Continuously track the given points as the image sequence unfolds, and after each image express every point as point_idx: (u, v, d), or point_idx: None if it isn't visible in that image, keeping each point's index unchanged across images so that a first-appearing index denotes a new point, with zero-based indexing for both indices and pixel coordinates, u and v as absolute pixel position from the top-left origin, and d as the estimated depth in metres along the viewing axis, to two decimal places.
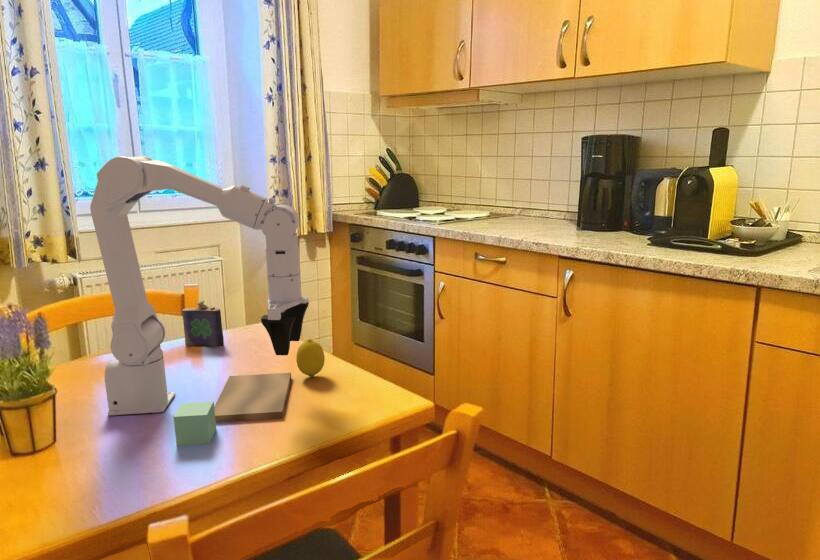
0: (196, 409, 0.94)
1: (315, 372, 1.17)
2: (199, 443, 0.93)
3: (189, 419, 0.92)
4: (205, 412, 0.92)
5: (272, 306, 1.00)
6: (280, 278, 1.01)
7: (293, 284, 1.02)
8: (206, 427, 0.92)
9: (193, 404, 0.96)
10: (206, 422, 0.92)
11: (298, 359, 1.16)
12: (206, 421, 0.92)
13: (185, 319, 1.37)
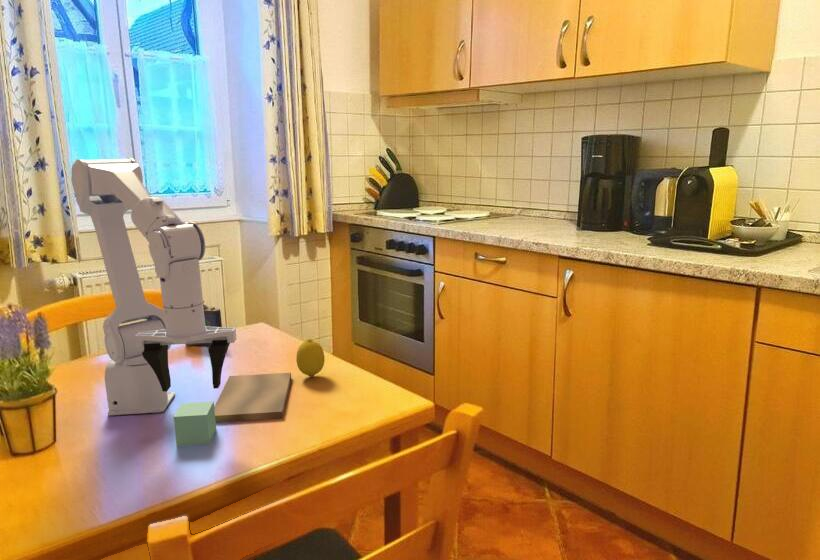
0: (196, 409, 0.94)
1: (315, 372, 1.17)
2: (199, 443, 0.93)
3: (189, 419, 0.92)
4: (205, 412, 0.92)
5: None
6: None
7: (167, 317, 0.88)
8: (206, 427, 0.92)
9: (193, 404, 0.96)
10: (206, 422, 0.92)
11: (298, 359, 1.16)
12: (206, 421, 0.92)
13: None
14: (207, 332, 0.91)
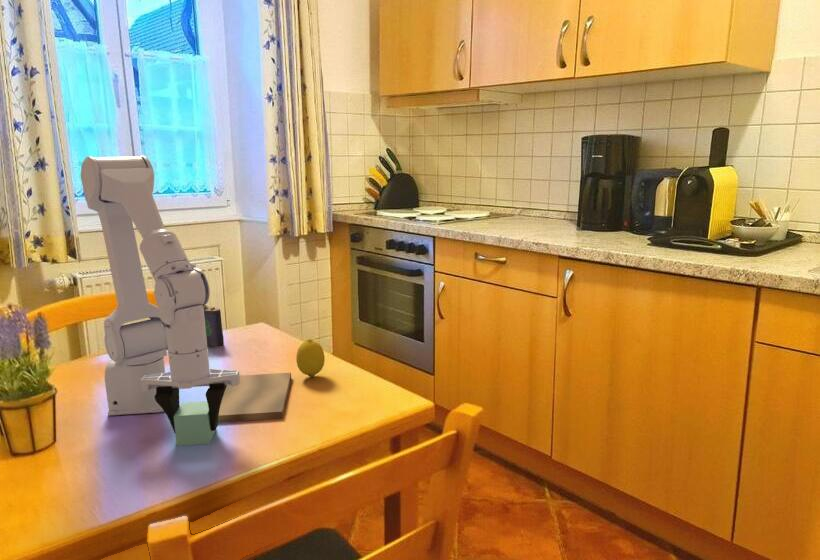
0: (196, 409, 0.94)
1: (315, 372, 1.17)
2: (199, 442, 0.93)
3: (189, 419, 0.92)
4: (205, 412, 0.92)
5: None
6: None
7: (172, 362, 0.90)
8: (206, 426, 0.92)
9: (193, 403, 0.96)
10: (206, 421, 0.92)
11: (298, 359, 1.16)
12: (206, 420, 0.92)
13: None
14: (211, 375, 0.93)
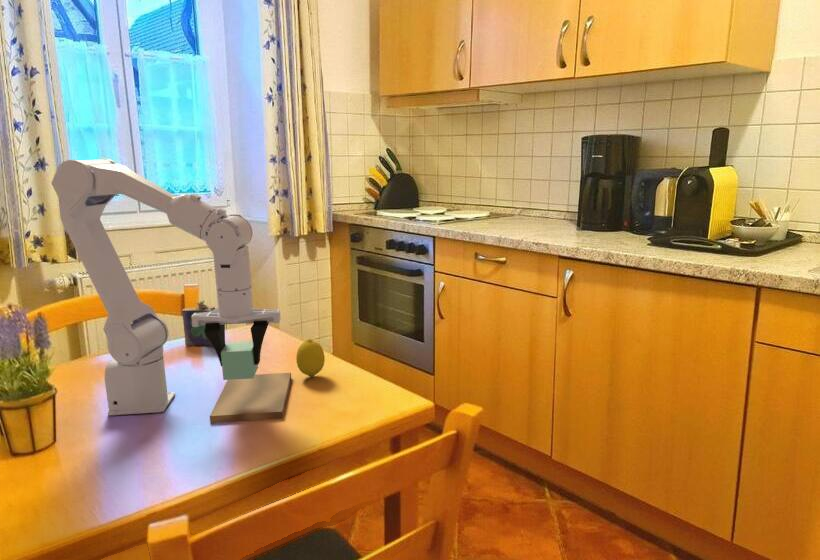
0: (240, 347, 1.02)
1: (315, 372, 1.17)
2: (243, 377, 1.01)
3: (235, 355, 1.00)
4: (249, 349, 1.01)
5: None
6: None
7: (221, 299, 0.98)
8: (250, 362, 1.00)
9: (237, 343, 1.04)
10: (250, 357, 1.00)
11: (298, 359, 1.16)
12: (250, 357, 1.00)
13: (185, 319, 1.37)
14: (255, 313, 1.01)
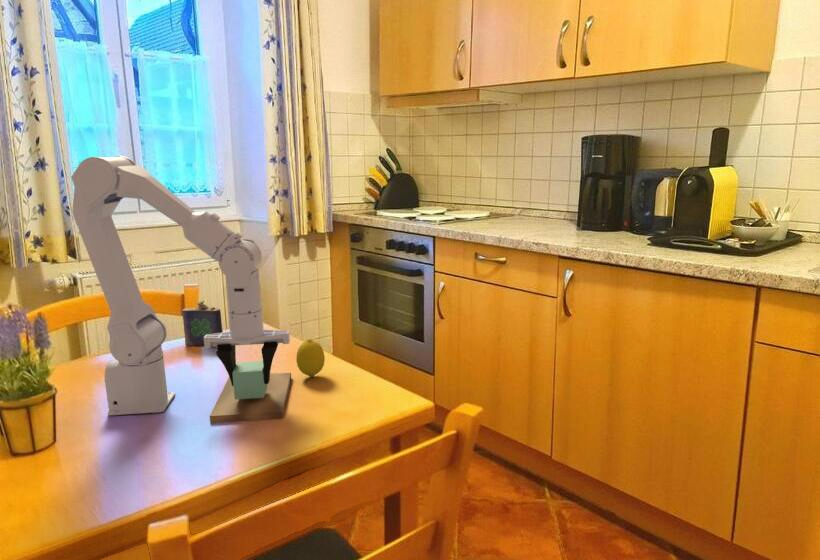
0: (251, 367, 1.05)
1: (315, 372, 1.17)
2: (254, 396, 1.04)
3: (246, 375, 1.03)
4: (260, 369, 1.04)
5: (220, 335, 1.05)
6: (228, 312, 1.03)
7: (232, 321, 1.01)
8: (261, 382, 1.04)
9: (248, 362, 1.07)
10: (261, 378, 1.03)
11: (298, 359, 1.16)
12: (261, 377, 1.03)
13: (185, 319, 1.37)
14: (265, 334, 1.05)
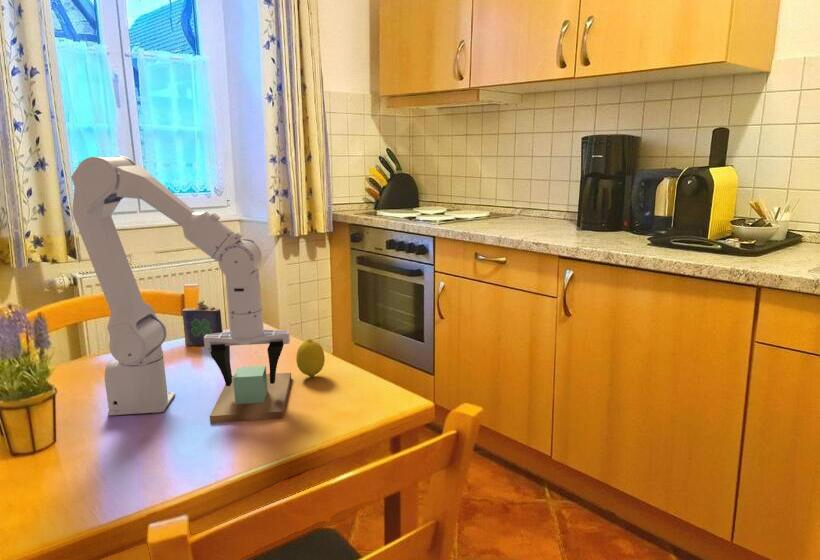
0: (252, 372, 1.05)
1: (315, 372, 1.17)
2: (255, 401, 1.04)
3: (247, 380, 1.03)
4: (261, 374, 1.04)
5: (220, 335, 1.05)
6: (228, 312, 1.03)
7: (232, 321, 1.01)
8: (261, 387, 1.04)
9: (248, 367, 1.07)
10: (261, 382, 1.04)
11: (298, 359, 1.16)
12: (261, 381, 1.04)
13: (185, 319, 1.37)
14: (265, 334, 1.05)
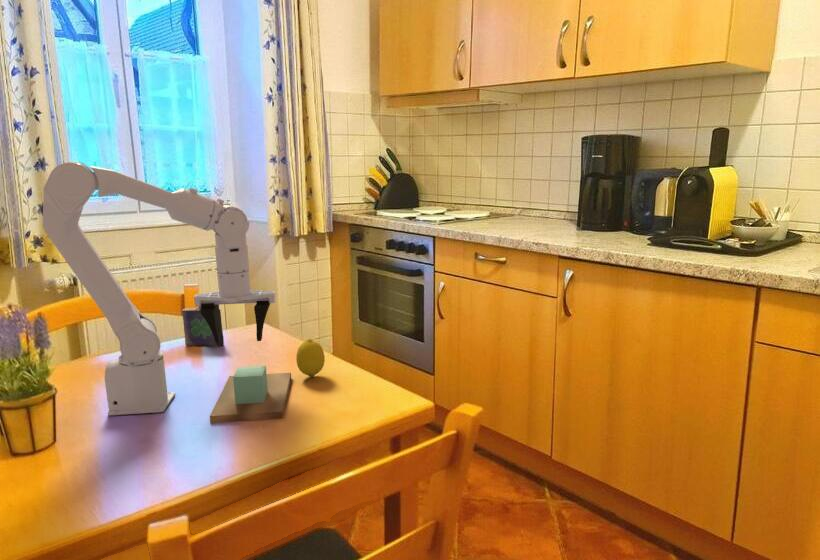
0: (252, 372, 1.05)
1: (315, 372, 1.17)
2: (255, 401, 1.04)
3: (247, 380, 1.03)
4: (261, 374, 1.04)
5: None
6: (217, 272, 1.09)
7: (221, 280, 1.08)
8: (261, 387, 1.04)
9: (248, 367, 1.07)
10: (261, 382, 1.04)
11: (298, 359, 1.16)
12: (261, 381, 1.04)
13: (185, 319, 1.37)
14: (252, 294, 1.11)
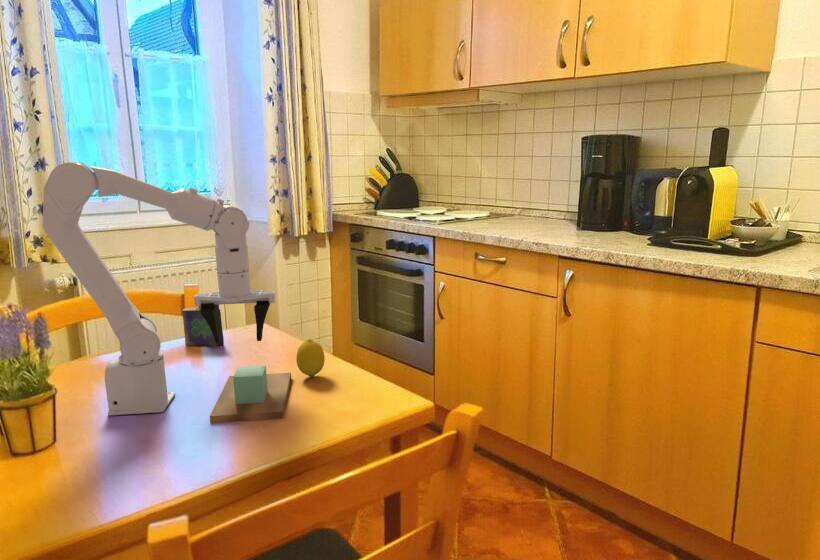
0: (252, 372, 1.05)
1: (315, 372, 1.17)
2: (255, 401, 1.04)
3: (247, 380, 1.03)
4: (261, 374, 1.04)
5: None
6: (217, 272, 1.09)
7: (221, 280, 1.08)
8: (261, 387, 1.04)
9: (248, 367, 1.07)
10: (261, 382, 1.04)
11: (298, 359, 1.16)
12: (261, 381, 1.04)
13: (185, 319, 1.37)
14: (252, 294, 1.11)
